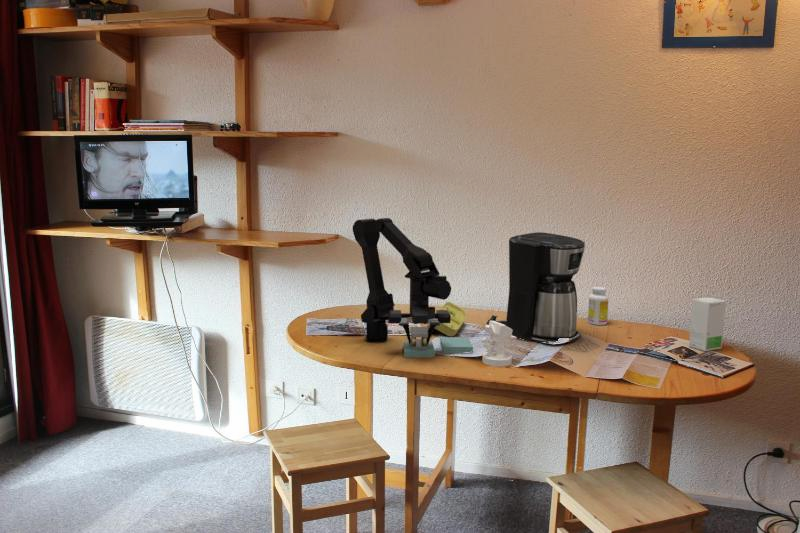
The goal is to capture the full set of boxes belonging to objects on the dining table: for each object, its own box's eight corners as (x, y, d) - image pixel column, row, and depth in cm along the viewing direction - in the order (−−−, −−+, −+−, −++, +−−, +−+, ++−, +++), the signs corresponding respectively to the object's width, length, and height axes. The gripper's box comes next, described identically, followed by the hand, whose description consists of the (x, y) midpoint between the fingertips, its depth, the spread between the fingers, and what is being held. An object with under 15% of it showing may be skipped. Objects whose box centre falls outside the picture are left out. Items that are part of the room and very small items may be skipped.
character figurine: (476, 359, 200) (477, 320, 198) (502, 355, 205) (503, 316, 203) (494, 368, 193) (495, 327, 191) (520, 363, 197) (522, 323, 195)
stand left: (404, 357, 202) (404, 351, 201) (403, 347, 212) (403, 341, 211) (434, 357, 202) (434, 351, 202) (431, 347, 212) (432, 341, 212)
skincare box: (704, 352, 209) (709, 303, 206) (686, 346, 215) (691, 298, 212) (722, 348, 213) (727, 300, 210) (704, 342, 219) (709, 296, 216)
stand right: (443, 353, 206) (443, 347, 206) (440, 343, 216) (440, 337, 216) (472, 353, 206) (472, 346, 206) (468, 343, 216) (468, 337, 216)
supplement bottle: (608, 322, 243) (610, 287, 241) (605, 326, 237) (607, 290, 235) (589, 319, 246) (591, 285, 244) (585, 324, 240) (587, 288, 238)
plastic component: (456, 331, 222) (430, 316, 224) (447, 349, 225) (421, 334, 226) (469, 312, 240) (444, 299, 242) (460, 329, 243) (436, 315, 244)
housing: (411, 350, 203) (411, 334, 202) (409, 342, 210) (410, 326, 209) (427, 350, 203) (428, 333, 202) (425, 342, 211) (426, 326, 210)
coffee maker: (575, 349, 211) (581, 242, 205) (475, 338, 222) (477, 236, 216) (583, 330, 232) (589, 233, 226) (491, 321, 243) (494, 228, 237)
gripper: (388, 300, 195) (388, 352, 198) (453, 300, 196) (452, 351, 199) (388, 291, 206) (387, 341, 209) (449, 291, 207) (448, 340, 210)
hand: (418, 343), depth 206 cm, fingers closed on housing, 5 cm apart
